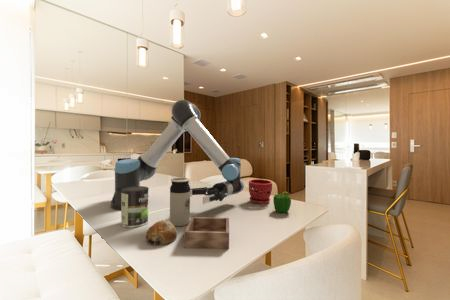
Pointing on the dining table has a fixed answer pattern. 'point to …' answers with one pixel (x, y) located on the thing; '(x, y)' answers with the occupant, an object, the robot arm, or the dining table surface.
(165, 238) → the bread roll
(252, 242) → the dining table surface
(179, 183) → the travel mug
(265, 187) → the plant pot
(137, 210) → the coffee can
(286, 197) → the bell pepper
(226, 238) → the walnut crate
